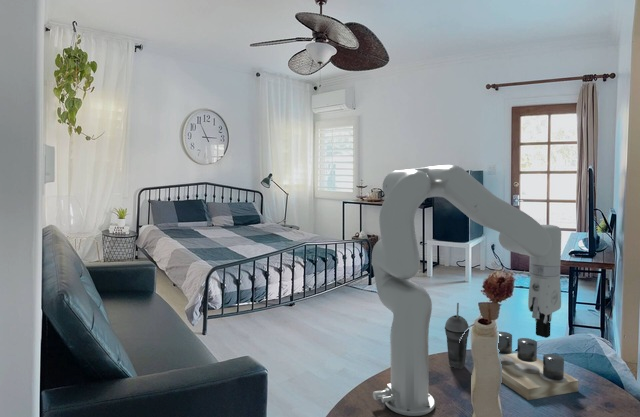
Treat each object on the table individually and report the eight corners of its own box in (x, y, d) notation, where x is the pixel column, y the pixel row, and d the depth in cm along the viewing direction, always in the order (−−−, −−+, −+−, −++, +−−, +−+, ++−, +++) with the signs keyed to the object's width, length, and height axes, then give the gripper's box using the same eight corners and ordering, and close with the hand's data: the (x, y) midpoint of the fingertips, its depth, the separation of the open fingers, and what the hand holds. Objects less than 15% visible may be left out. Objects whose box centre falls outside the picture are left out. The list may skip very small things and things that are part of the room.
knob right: (552, 381, 115) (553, 362, 115) (538, 372, 120) (539, 355, 120) (568, 378, 117) (568, 360, 116) (553, 370, 121) (554, 353, 121)
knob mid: (525, 363, 121) (526, 345, 120) (513, 356, 125) (513, 339, 125) (540, 360, 122) (541, 343, 122) (528, 353, 127) (528, 337, 126)
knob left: (501, 355, 126) (501, 338, 126) (490, 348, 131) (490, 332, 131) (515, 353, 127) (515, 336, 127) (504, 346, 132) (504, 330, 132)
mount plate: (528, 400, 112) (528, 388, 112) (480, 367, 132) (480, 357, 131) (578, 391, 117) (578, 379, 116) (525, 360, 136) (525, 351, 136)
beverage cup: (466, 360, 137) (466, 298, 135) (471, 371, 130) (472, 305, 128) (442, 360, 138) (442, 298, 136) (446, 370, 130) (447, 305, 129)
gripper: (546, 276, 111) (544, 346, 112) (570, 268, 120) (568, 333, 121) (517, 272, 117) (516, 338, 118) (543, 264, 126) (541, 326, 127)
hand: (542, 335), depth 120 cm, fingers closed
